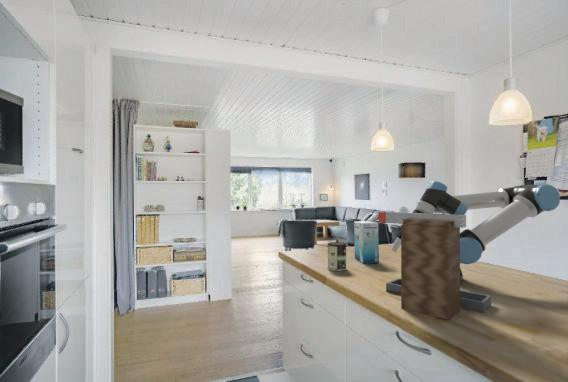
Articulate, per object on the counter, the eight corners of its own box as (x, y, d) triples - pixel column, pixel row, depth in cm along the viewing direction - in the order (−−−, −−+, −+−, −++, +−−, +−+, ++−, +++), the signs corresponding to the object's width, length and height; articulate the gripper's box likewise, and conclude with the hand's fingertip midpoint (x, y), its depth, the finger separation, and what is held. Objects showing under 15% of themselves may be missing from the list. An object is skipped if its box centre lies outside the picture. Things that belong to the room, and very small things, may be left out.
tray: (386, 291, 138) (386, 283, 139) (397, 286, 146) (397, 278, 146) (483, 312, 113) (483, 302, 113) (491, 305, 121) (491, 295, 121)
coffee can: (346, 267, 184) (346, 242, 185) (346, 271, 174) (346, 244, 174) (328, 266, 186) (328, 241, 187) (326, 270, 176) (326, 244, 177)
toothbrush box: (353, 258, 211) (353, 220, 211) (369, 258, 212) (369, 220, 212) (362, 263, 194) (362, 222, 194) (379, 263, 194) (379, 222, 195)
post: (401, 308, 118) (401, 219, 118) (414, 300, 127) (414, 217, 127) (448, 320, 107) (448, 221, 107) (460, 310, 116) (459, 219, 116)
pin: (378, 222, 129) (378, 212, 129) (383, 221, 132) (383, 211, 132) (462, 227, 108) (462, 215, 108) (466, 226, 111) (466, 215, 111)
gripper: (404, 207, 160) (382, 244, 160) (428, 209, 135) (402, 253, 135) (417, 215, 160) (395, 252, 160) (443, 218, 135) (417, 263, 135)
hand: (398, 253), depth 147 cm, fingers open, 13 cm apart
